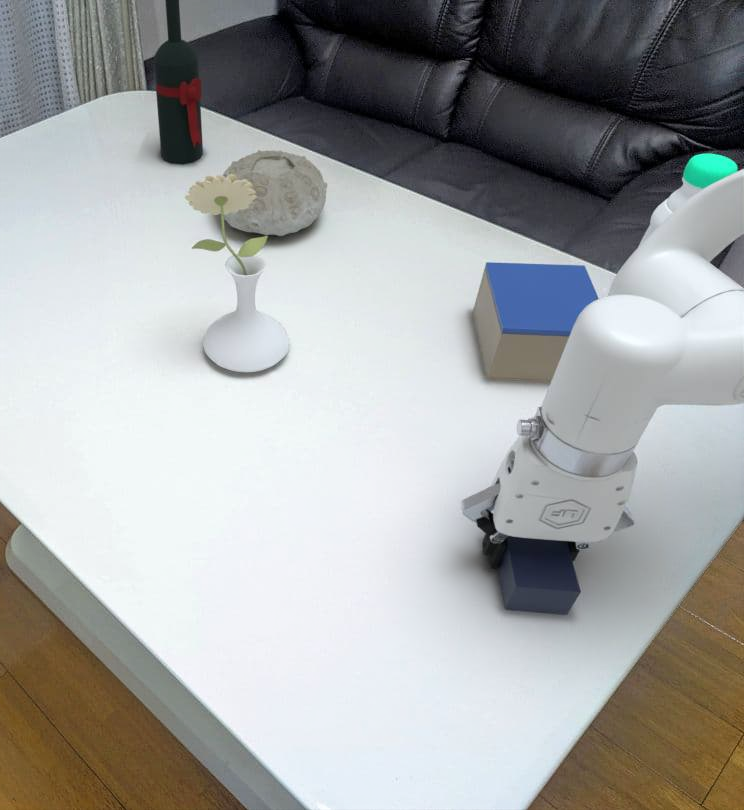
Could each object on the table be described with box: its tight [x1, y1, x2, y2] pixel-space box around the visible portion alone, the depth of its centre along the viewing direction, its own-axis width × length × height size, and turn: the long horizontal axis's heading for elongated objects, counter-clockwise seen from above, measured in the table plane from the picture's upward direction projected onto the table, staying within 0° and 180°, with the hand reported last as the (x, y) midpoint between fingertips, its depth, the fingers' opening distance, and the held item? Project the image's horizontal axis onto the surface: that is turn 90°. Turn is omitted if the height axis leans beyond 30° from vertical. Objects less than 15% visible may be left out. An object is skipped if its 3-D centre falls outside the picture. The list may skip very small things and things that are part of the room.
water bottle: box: [637, 153, 739, 248], centre depth 87 cm, size 7×7×25 cm
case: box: [488, 506, 582, 616], centre depth 72 cm, size 12×6×4 cm, turn 173°
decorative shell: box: [222, 149, 328, 237], centre depth 117 cm, size 18×18×10 cm
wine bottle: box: [153, 0, 204, 165], centre depth 127 cm, size 8×10×30 cm
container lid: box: [484, 261, 600, 336], centre depth 90 cm, size 12×14×1 cm
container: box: [471, 268, 569, 384], centre depth 93 cm, size 12×14×8 cm
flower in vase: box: [184, 174, 291, 373], centre depth 89 cm, size 13×11×25 cm
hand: (524, 557), depth 73 cm, fingers closed on case, 5 cm apart
